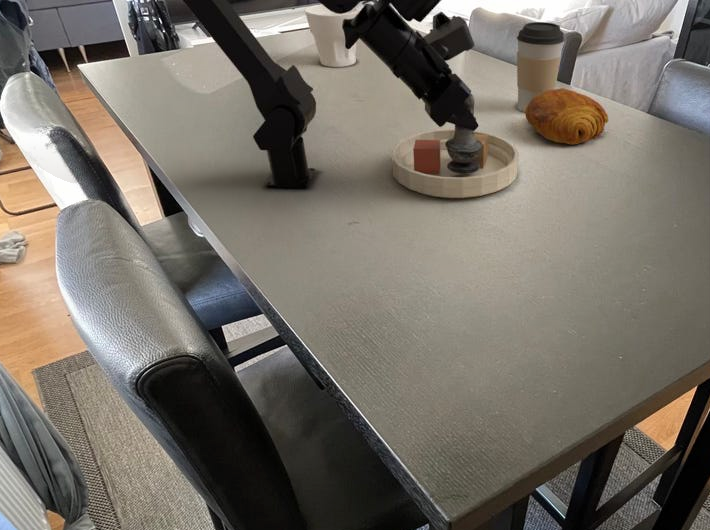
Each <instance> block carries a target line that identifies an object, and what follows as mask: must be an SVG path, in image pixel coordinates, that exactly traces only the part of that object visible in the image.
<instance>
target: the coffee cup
mask: <svg viewBox="0 0 710 530" xmlns="http://www.w3.org/2000/svg"><path fill="white" fill-rule="evenodd" d="M564 36H565V34H564V31H562V30H561V26H560V24H556V23H553V22H547V21H534V22H527V23H525V24H524V25H523V27H522V29H521V30H519V32H518V35H517V36H516V39H517V51H516V83H517V84H516V87H517V109H518V110H519V111H520V112H523V113H525V111H526V108H527V106H528V104H529V103H530V101H531V99H533V98H534V97H535V96H537V95H540V94H542V93H544V92H545V91H547V90H554V89H556V86H557V80H558V75H559V70H560V65H561V60H562V50H563V45H564V44H563V43H564V42H565V38H564Z"/></svg>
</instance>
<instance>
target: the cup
mask: <svg viewBox="0 0 710 530" xmlns="http://www.w3.org/2000/svg"><path fill="white" fill-rule="evenodd" d="M304 12H305V16H306V20H307V24H308V28H309V32H310V33H311V34H312V36H313V38H314V42H315V46H316V50H317V53H318V55H319V61H320V65H322V66H325V67H330V68H344V67H350V66H353V65H354V64H356V62H357V59H356V54H357V42H356V43H355V44H354V45H353V46H352V47H351V48H350V49H346V47H345V35H344V31H343V28H342V24H343V19H352V18H354V17H355V16H356V15H357V14H358V13H359V12H360V9H359V8H358V6H356V7H354V8H353V9H352V10H351V11H349V12H346V13H343V14H338V13H334V12H332V11H330V10H329V9H327V8H326V7H325V6H324V5H322V4H315V5H311V6H308V7H307V8H305V9H304Z"/></svg>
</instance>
